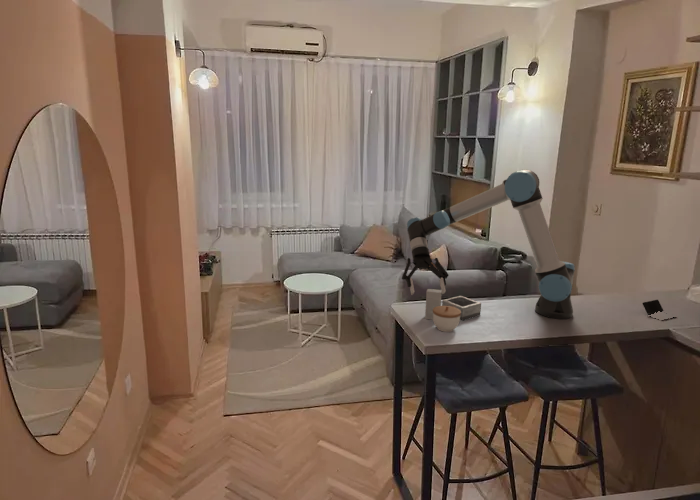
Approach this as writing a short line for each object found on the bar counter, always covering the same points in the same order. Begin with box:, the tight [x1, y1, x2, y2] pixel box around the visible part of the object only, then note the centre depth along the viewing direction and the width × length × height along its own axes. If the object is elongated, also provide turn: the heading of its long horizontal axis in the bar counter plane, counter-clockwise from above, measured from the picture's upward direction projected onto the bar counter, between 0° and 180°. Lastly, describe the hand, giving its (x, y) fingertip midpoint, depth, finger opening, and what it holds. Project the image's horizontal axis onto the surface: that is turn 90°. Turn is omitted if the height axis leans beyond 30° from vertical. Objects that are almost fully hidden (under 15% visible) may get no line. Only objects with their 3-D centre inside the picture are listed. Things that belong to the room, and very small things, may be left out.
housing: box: [441, 295, 482, 321], centre depth 199 cm, size 11×11×6 cm
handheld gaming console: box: [642, 299, 665, 316], centre depth 204 cm, size 12×7×10 cm
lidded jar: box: [432, 305, 461, 333], centre depth 182 cm, size 11×11×9 cm
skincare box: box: [424, 288, 442, 321], centre depth 193 cm, size 6×4×12 cm
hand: (428, 293), depth 196 cm, fingers open, 13 cm apart
